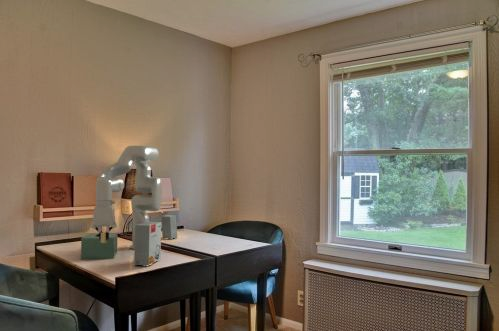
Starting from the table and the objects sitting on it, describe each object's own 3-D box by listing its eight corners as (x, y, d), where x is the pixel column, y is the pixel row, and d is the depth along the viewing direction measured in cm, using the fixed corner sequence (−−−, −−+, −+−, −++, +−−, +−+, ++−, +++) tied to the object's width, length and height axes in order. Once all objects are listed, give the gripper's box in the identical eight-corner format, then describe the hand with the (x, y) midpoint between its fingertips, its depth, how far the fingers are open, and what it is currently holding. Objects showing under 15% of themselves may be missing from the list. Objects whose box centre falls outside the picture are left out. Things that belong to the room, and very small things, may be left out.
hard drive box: (148, 267, 190) (149, 225, 191) (133, 266, 192) (134, 225, 192) (161, 260, 206) (161, 221, 206) (147, 259, 207) (147, 221, 207)
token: (107, 242, 201) (107, 232, 202) (105, 242, 195) (105, 232, 196) (102, 243, 201) (102, 233, 202) (100, 242, 195) (100, 232, 196)
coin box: (117, 252, 223) (117, 232, 223) (113, 258, 208) (113, 237, 208) (87, 253, 220) (87, 233, 220) (81, 259, 204) (81, 238, 205)
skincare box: (177, 238, 270) (177, 215, 270) (170, 240, 264) (170, 216, 264) (168, 237, 275) (168, 214, 275) (160, 238, 269) (161, 215, 269)
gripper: (121, 202, 204) (121, 238, 204) (88, 202, 201) (88, 239, 201) (119, 204, 196) (119, 241, 197) (85, 204, 193) (85, 242, 194)
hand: (104, 239), depth 199 cm, fingers closed on token, 1 cm apart
